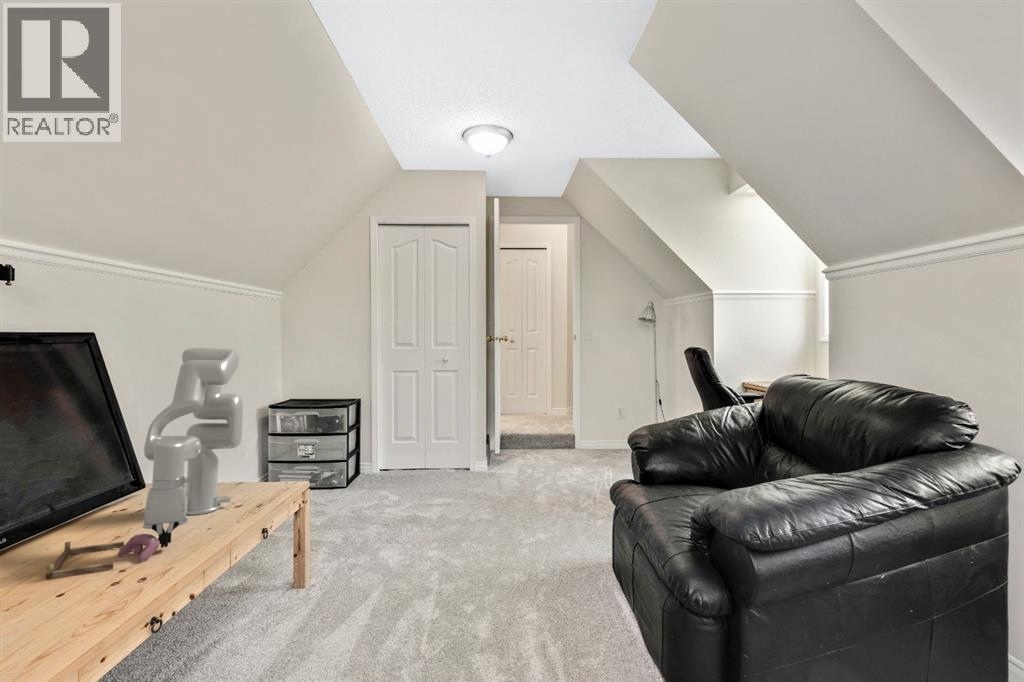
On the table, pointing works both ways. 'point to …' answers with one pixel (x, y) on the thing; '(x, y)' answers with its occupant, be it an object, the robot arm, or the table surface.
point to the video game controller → (141, 546)
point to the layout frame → (56, 573)
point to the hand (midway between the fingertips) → (164, 545)
